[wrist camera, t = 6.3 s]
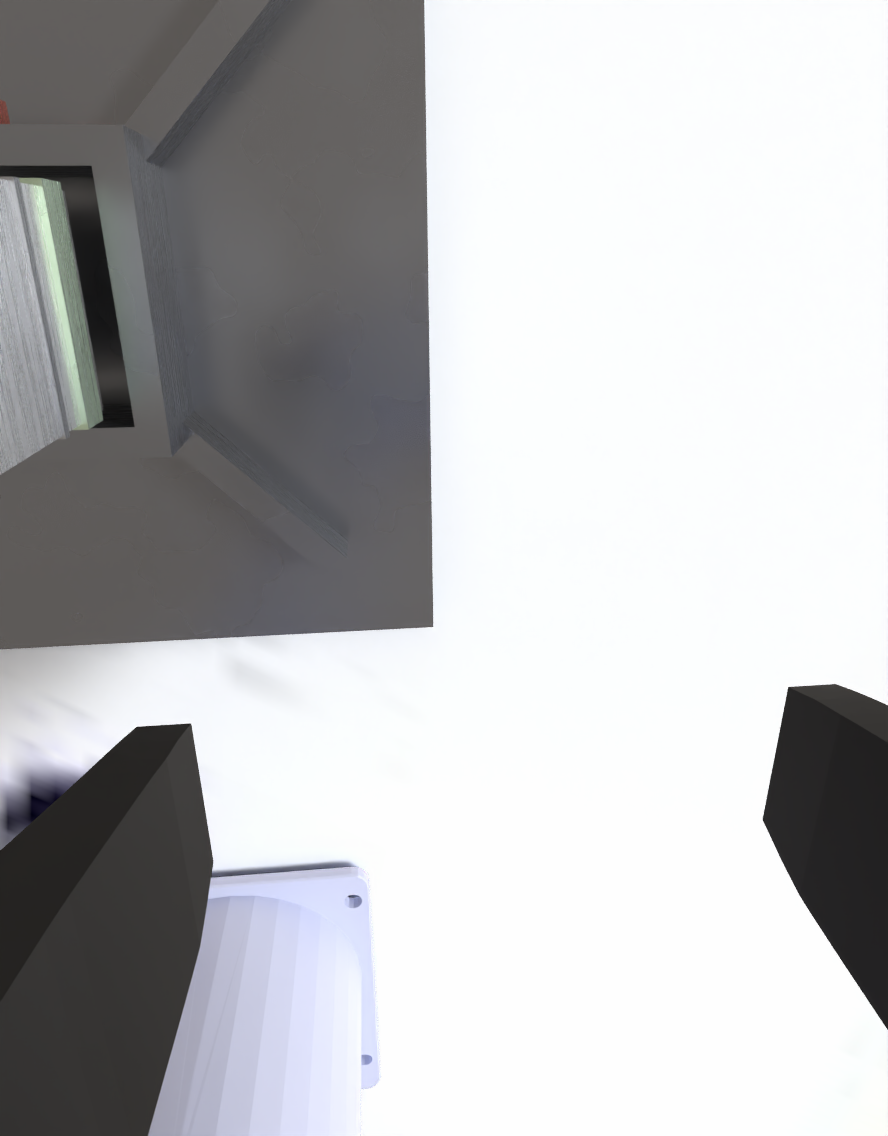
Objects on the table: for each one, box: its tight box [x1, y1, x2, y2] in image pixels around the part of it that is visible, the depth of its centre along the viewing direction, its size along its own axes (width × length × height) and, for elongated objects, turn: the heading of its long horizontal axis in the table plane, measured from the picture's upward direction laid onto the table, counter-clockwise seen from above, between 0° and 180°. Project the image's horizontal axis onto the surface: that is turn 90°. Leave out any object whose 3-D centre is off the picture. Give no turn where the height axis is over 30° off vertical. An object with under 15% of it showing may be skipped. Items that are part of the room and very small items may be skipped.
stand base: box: [0, 0, 433, 649], centre depth 15 cm, size 16×16×3 cm
